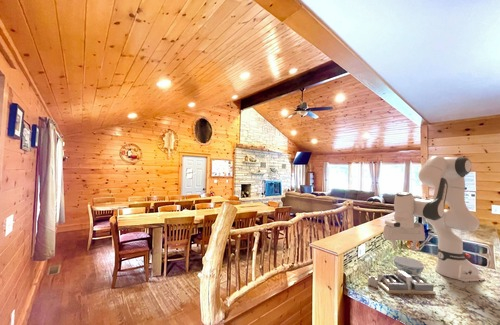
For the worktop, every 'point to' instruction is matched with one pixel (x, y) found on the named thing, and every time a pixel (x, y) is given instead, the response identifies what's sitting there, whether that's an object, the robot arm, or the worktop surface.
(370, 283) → the lighter
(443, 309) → the worktop surface
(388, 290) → the metal roller rack
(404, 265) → the chinaware
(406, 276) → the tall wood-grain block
